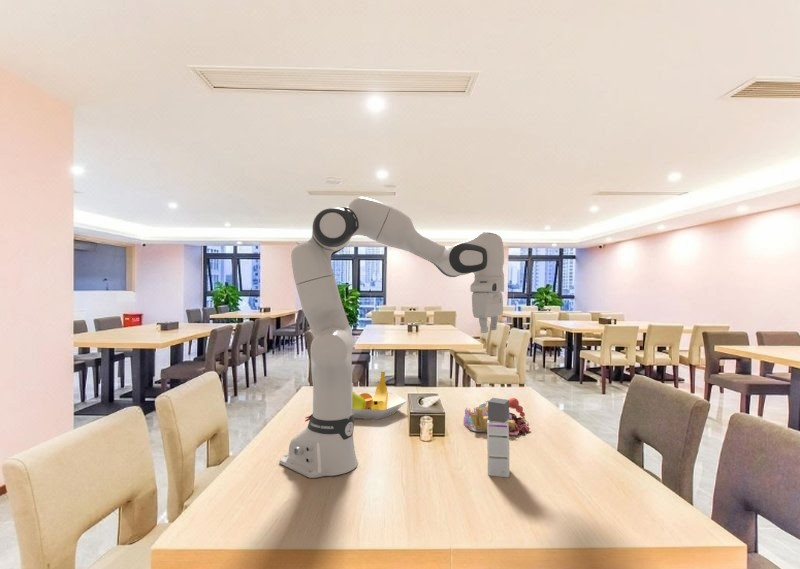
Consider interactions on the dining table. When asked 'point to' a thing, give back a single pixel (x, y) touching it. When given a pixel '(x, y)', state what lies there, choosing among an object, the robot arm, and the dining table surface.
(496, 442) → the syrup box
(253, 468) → the dining table surface
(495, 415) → the block
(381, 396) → the fruit
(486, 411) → the food platter
